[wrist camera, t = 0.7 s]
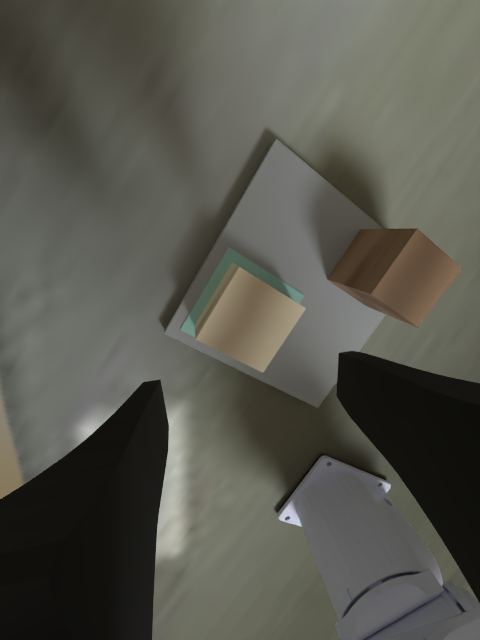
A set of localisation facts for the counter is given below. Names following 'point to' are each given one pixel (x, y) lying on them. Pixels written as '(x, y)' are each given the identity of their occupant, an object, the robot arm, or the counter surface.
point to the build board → (289, 273)
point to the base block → (247, 319)
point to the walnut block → (395, 272)
